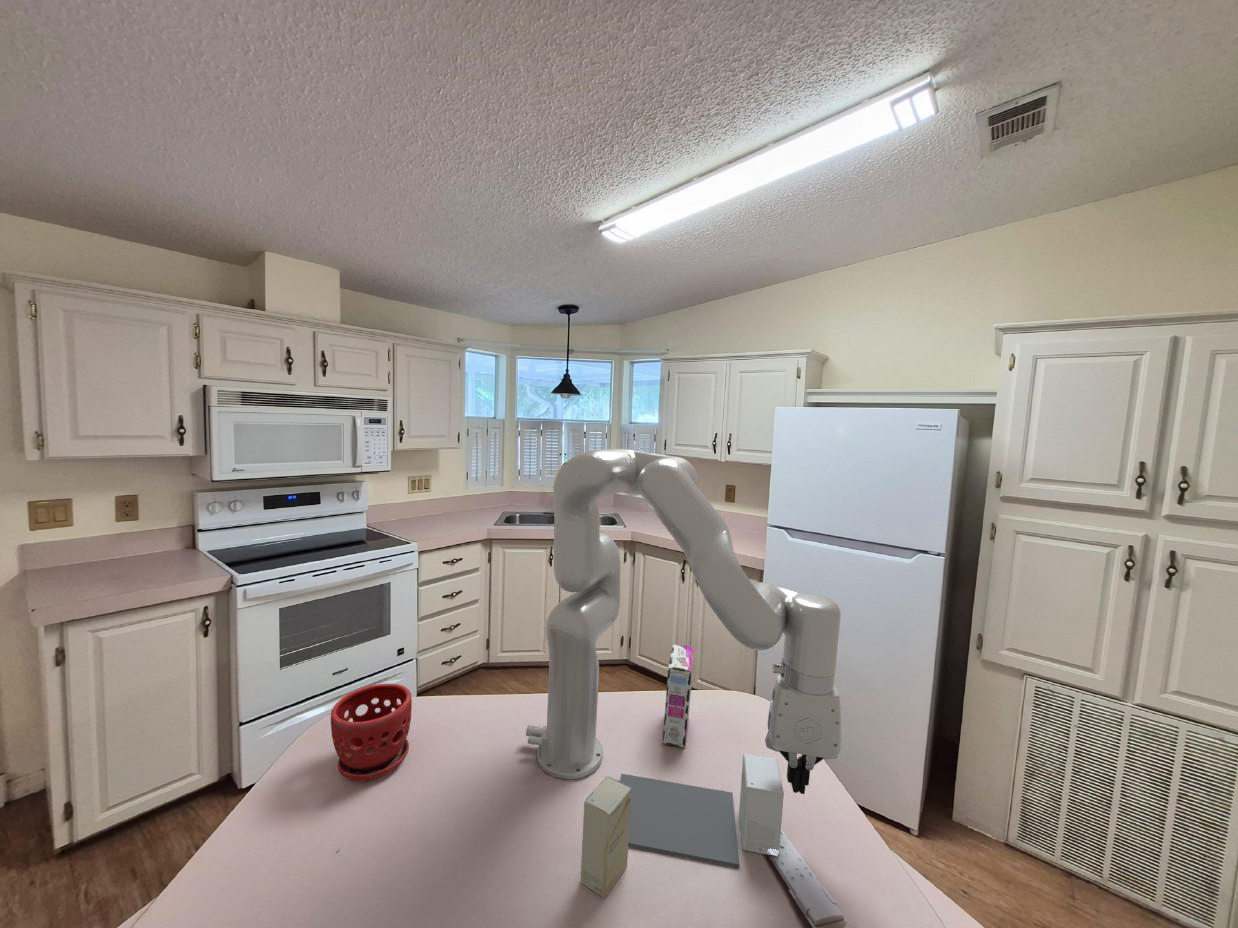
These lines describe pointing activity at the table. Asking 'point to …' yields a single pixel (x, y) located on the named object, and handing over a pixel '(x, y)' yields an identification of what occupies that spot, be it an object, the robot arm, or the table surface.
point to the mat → (682, 820)
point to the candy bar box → (678, 696)
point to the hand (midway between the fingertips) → (796, 786)
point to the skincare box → (605, 835)
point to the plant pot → (371, 731)
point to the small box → (760, 804)
